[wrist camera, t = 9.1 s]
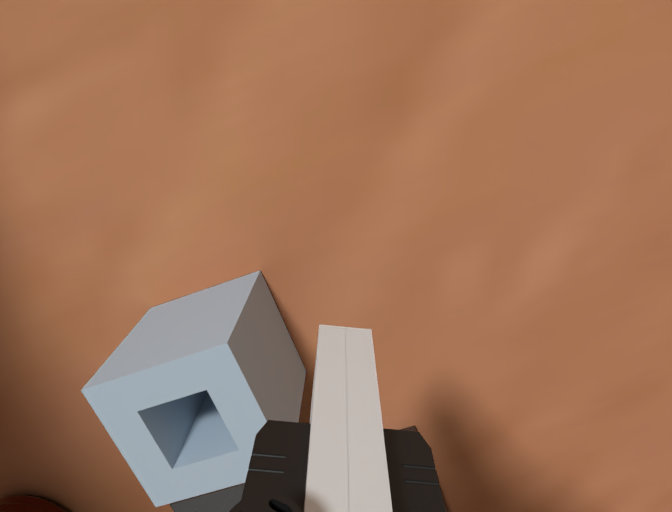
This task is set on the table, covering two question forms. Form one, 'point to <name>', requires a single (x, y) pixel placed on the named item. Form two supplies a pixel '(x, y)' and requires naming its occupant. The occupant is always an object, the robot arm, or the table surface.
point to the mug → (28, 504)
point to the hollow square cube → (199, 388)
